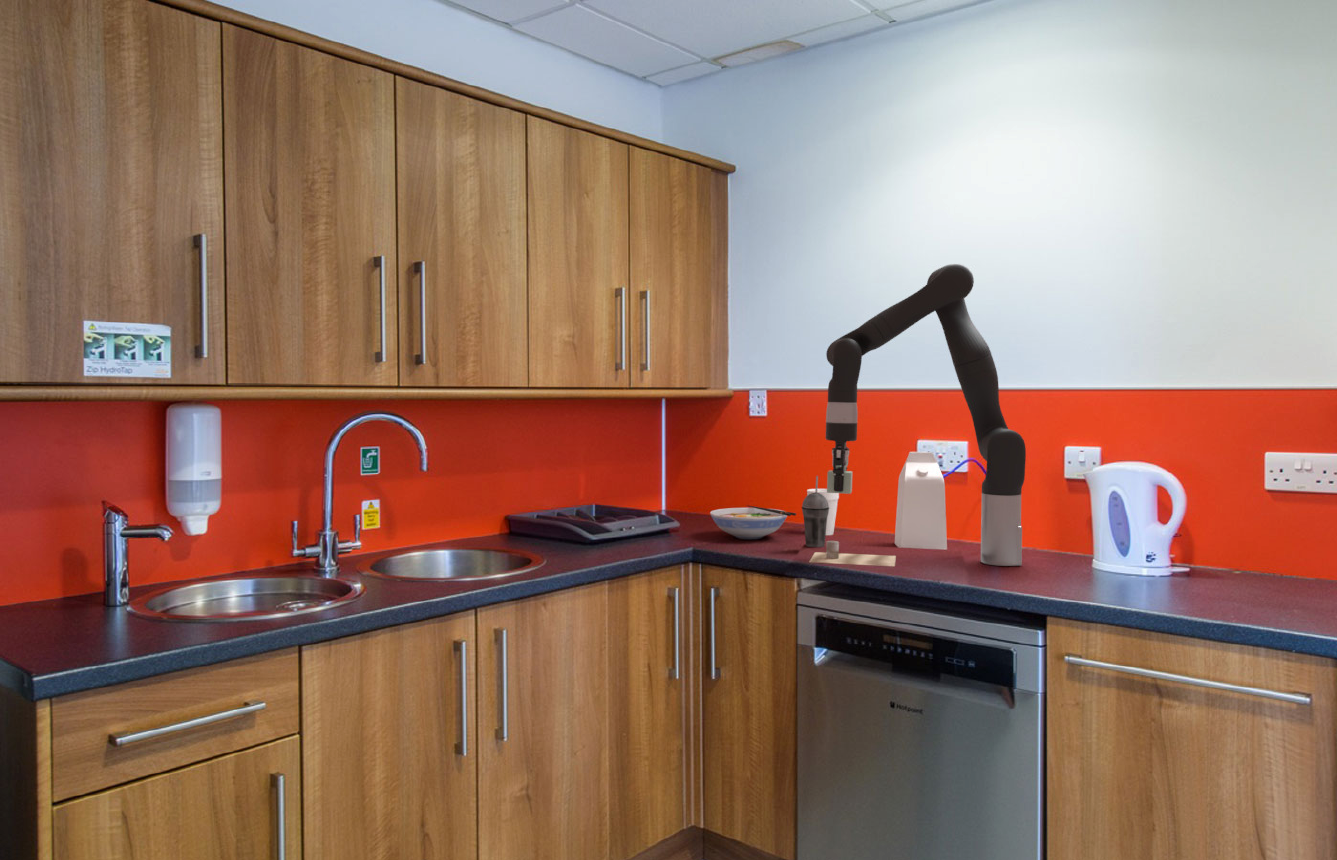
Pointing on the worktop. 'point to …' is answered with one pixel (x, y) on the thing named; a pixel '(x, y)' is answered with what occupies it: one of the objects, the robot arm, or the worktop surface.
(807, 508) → the beverage cup
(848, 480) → the grey-green block
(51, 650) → the worktop surface
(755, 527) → the ramen bowl
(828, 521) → the foam cup
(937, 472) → the milk
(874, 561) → the post board
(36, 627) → the worktop surface
